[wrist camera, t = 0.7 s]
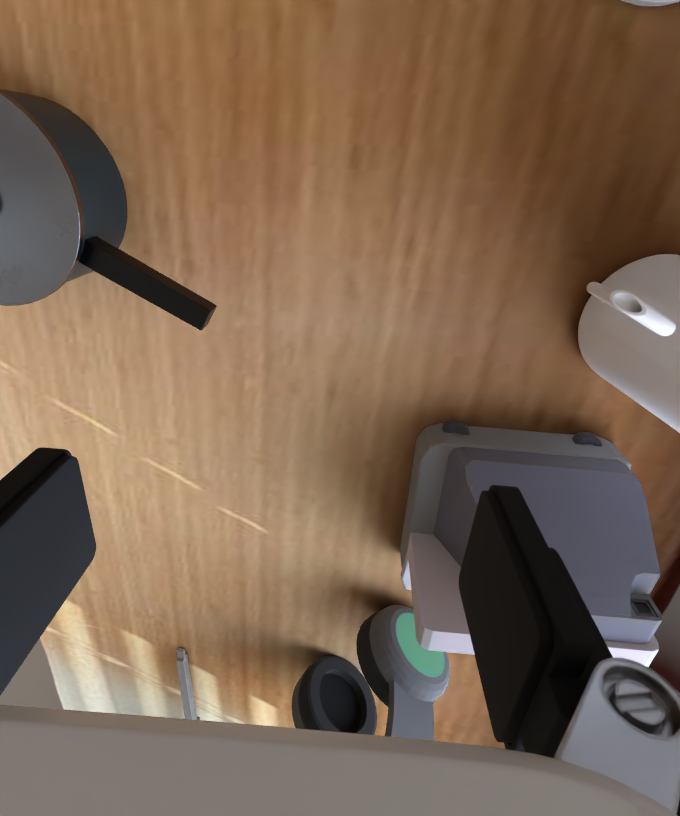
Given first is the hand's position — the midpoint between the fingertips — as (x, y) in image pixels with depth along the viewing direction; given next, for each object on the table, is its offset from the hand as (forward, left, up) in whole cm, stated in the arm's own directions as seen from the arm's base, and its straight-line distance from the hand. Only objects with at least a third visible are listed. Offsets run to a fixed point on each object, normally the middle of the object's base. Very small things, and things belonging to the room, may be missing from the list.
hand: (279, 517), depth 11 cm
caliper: (+63, +13, -31) cm, 71 cm away
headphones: (+39, +28, -31) cm, 57 cm away
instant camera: (+12, +27, -31) cm, 43 cm away
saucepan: (+8, -18, -31) cm, 37 cm away
